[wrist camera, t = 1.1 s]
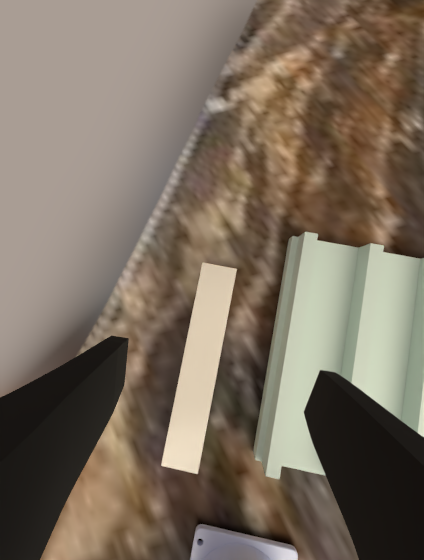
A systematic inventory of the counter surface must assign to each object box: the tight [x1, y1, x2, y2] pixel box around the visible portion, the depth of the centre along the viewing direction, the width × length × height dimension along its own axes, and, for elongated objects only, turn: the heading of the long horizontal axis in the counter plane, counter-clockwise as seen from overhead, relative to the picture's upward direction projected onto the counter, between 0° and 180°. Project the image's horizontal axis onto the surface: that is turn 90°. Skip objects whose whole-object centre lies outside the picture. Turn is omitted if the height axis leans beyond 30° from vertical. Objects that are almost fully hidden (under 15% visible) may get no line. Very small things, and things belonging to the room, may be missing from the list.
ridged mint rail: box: [253, 232, 424, 479], centre depth 18 cm, size 18×17×2 cm
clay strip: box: [161, 262, 237, 474], centre depth 18 cm, size 14×2×4 cm, turn 169°
